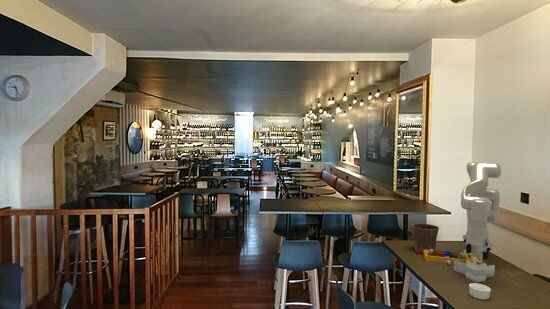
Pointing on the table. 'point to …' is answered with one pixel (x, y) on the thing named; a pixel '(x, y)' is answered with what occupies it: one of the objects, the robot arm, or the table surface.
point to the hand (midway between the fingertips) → (476, 255)
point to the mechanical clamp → (446, 255)
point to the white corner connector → (474, 270)
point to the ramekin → (479, 291)
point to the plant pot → (425, 236)
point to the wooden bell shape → (476, 259)
